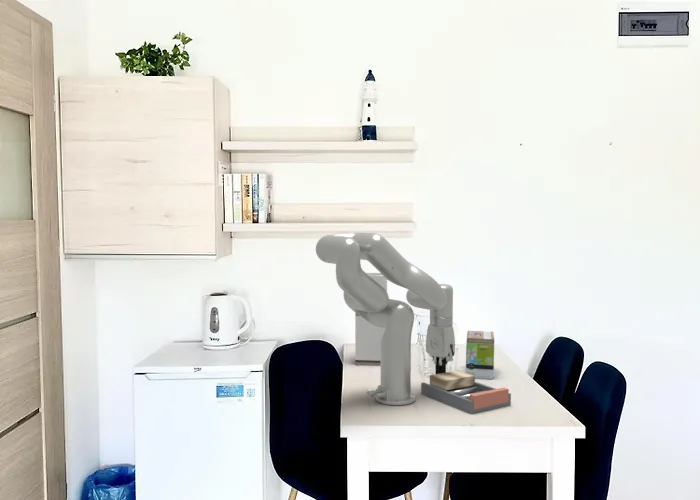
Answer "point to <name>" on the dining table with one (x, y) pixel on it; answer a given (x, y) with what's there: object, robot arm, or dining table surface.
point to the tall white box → (369, 334)
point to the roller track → (460, 398)
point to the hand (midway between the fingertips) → (440, 376)
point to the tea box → (480, 354)
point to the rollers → (464, 391)
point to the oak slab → (452, 380)
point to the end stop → (490, 397)
